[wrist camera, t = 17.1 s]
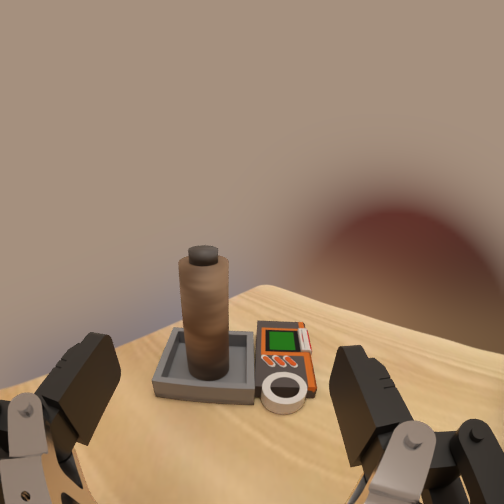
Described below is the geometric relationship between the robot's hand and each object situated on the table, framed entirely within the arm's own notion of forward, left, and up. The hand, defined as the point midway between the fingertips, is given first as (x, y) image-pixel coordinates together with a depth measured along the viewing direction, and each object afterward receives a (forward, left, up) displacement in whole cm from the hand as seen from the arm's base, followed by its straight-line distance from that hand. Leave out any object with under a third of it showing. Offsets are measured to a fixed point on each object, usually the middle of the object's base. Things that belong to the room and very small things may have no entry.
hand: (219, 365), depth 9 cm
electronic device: (-6, -18, -17) cm, 25 cm away
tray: (+3, -17, -16) cm, 24 cm away
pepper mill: (+3, -17, -16) cm, 23 cm away
